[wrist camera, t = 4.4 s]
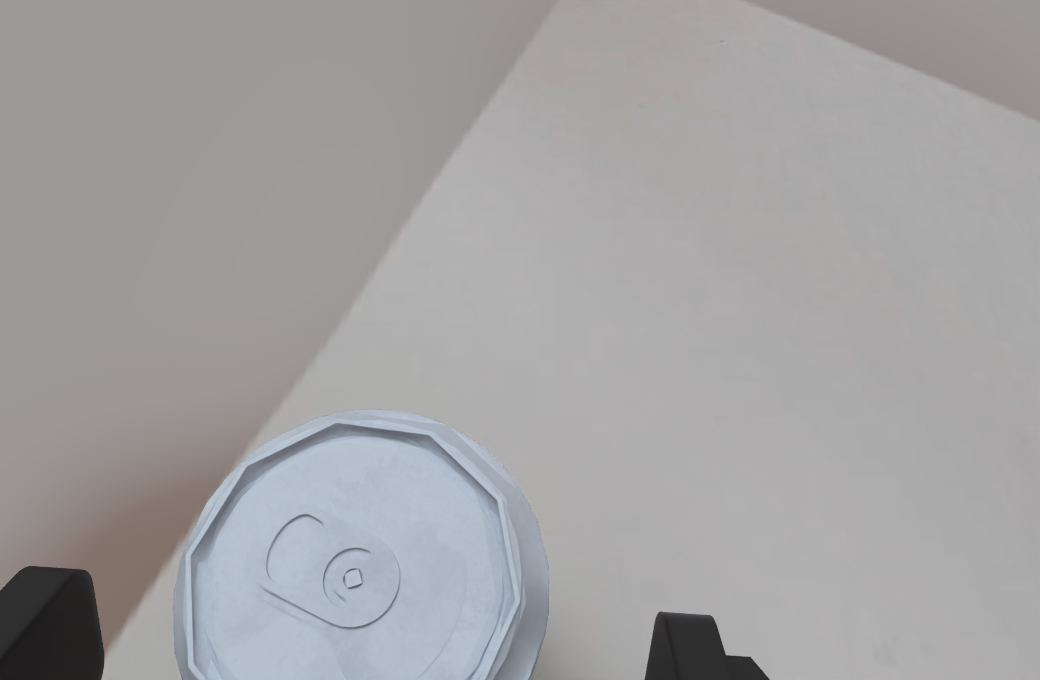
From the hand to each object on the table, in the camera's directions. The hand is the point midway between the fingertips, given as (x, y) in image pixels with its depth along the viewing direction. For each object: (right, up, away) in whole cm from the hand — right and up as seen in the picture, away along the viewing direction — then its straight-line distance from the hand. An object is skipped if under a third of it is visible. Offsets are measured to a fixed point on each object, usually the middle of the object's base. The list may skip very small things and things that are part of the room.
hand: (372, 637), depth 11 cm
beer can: (0, -3, +9) cm, 10 cm away
